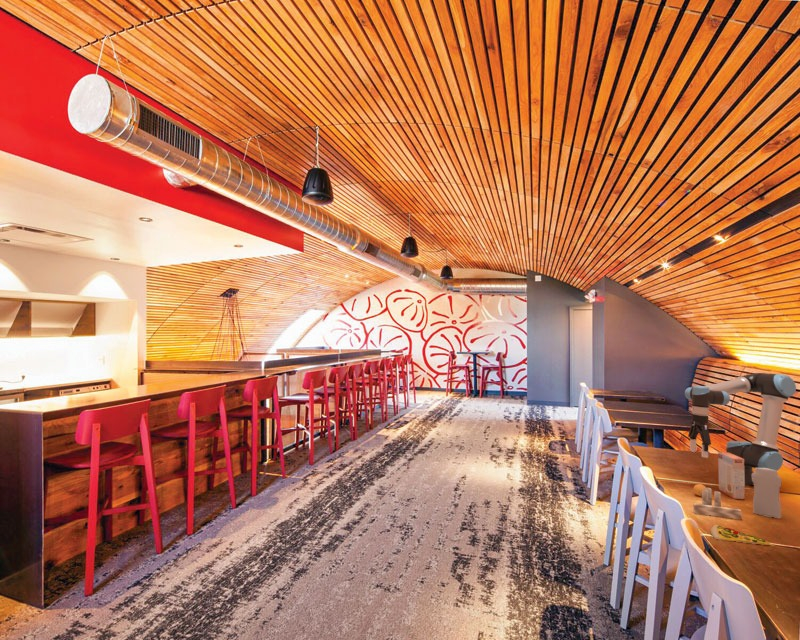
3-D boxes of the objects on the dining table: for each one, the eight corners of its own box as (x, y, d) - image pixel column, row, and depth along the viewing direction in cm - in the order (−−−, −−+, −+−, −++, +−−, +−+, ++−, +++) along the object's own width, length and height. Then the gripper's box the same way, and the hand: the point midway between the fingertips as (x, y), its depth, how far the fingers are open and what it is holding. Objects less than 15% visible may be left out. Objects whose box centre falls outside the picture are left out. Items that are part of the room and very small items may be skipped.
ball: (705, 494, 226) (705, 483, 227) (709, 498, 221) (708, 486, 221) (692, 493, 229) (692, 481, 229) (695, 497, 223) (695, 485, 223)
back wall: (740, 518, 196) (739, 509, 197) (741, 519, 195) (741, 511, 195) (693, 511, 203) (693, 503, 203) (694, 513, 201) (694, 504, 202)
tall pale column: (781, 517, 198) (780, 468, 200) (782, 520, 195) (781, 471, 196) (752, 511, 205) (750, 464, 206) (752, 514, 201) (751, 466, 202)
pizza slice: (711, 527, 188) (711, 520, 188) (773, 541, 175) (773, 534, 175) (710, 540, 175) (710, 532, 176) (777, 556, 163) (777, 548, 163)
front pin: (711, 505, 212) (710, 488, 212) (712, 507, 209) (712, 489, 210) (705, 504, 213) (704, 487, 213) (706, 506, 210) (706, 488, 211)
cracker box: (746, 500, 220) (745, 458, 221) (732, 499, 221) (731, 458, 222) (730, 490, 233) (729, 452, 234) (718, 490, 235) (717, 451, 236)
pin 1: (707, 507, 208) (707, 490, 209) (709, 509, 206) (708, 491, 207) (701, 507, 209) (701, 489, 210) (703, 508, 207) (702, 491, 207)
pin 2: (720, 509, 207) (719, 491, 207) (721, 511, 204) (721, 493, 205) (714, 508, 207) (713, 490, 208) (715, 510, 205) (715, 492, 206)
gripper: (682, 410, 245) (680, 448, 244) (703, 417, 221) (702, 459, 219) (697, 412, 243) (695, 450, 242) (719, 418, 219) (718, 461, 218)
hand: (698, 454), depth 231 cm, fingers open, 13 cm apart
